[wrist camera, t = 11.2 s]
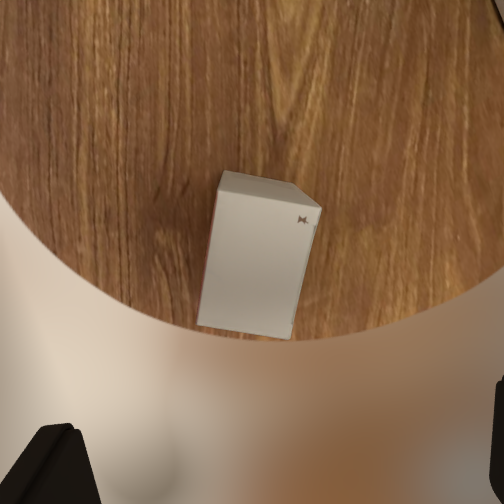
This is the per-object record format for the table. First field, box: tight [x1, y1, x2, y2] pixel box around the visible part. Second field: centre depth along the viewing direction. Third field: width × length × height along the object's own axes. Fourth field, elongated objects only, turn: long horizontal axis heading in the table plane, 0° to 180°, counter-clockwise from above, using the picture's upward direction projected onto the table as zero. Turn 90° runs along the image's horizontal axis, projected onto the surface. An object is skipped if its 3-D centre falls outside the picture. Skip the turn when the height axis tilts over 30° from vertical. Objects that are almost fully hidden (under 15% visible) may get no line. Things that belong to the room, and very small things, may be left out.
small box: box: [196, 170, 322, 340], centre depth 25 cm, size 8×6×10 cm
